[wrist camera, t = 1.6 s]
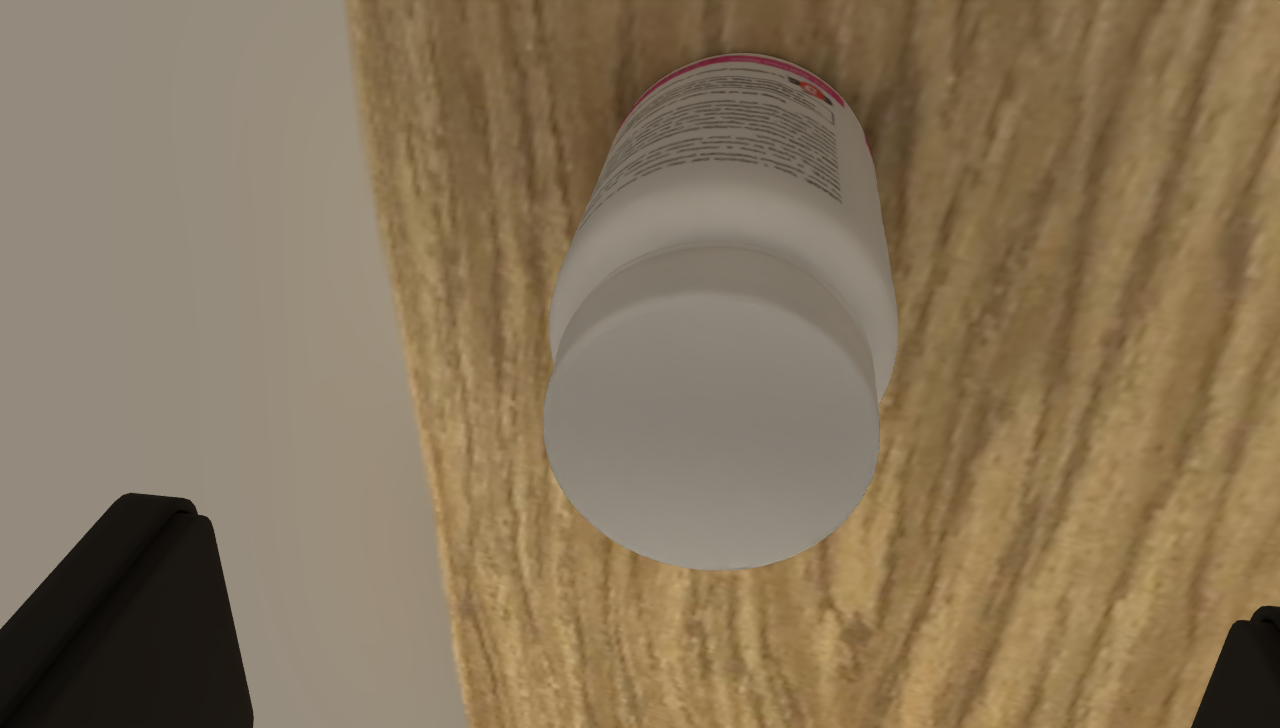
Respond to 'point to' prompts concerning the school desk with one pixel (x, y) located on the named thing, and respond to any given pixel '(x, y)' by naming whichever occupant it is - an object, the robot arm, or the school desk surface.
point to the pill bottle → (724, 321)
